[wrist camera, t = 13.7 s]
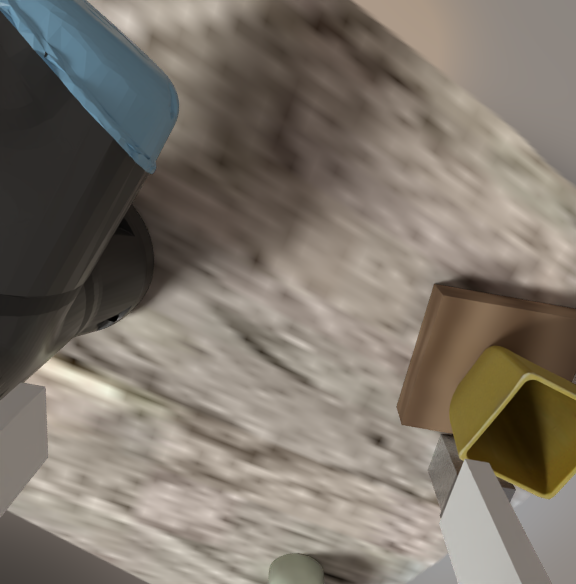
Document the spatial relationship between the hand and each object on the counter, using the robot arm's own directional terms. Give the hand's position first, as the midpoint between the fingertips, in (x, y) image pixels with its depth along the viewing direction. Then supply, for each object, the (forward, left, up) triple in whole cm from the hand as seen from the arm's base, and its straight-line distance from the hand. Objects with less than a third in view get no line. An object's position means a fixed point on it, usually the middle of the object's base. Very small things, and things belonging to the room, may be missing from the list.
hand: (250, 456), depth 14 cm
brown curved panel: (+21, -9, -29) cm, 37 cm away
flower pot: (+21, -9, -26) cm, 34 cm away
